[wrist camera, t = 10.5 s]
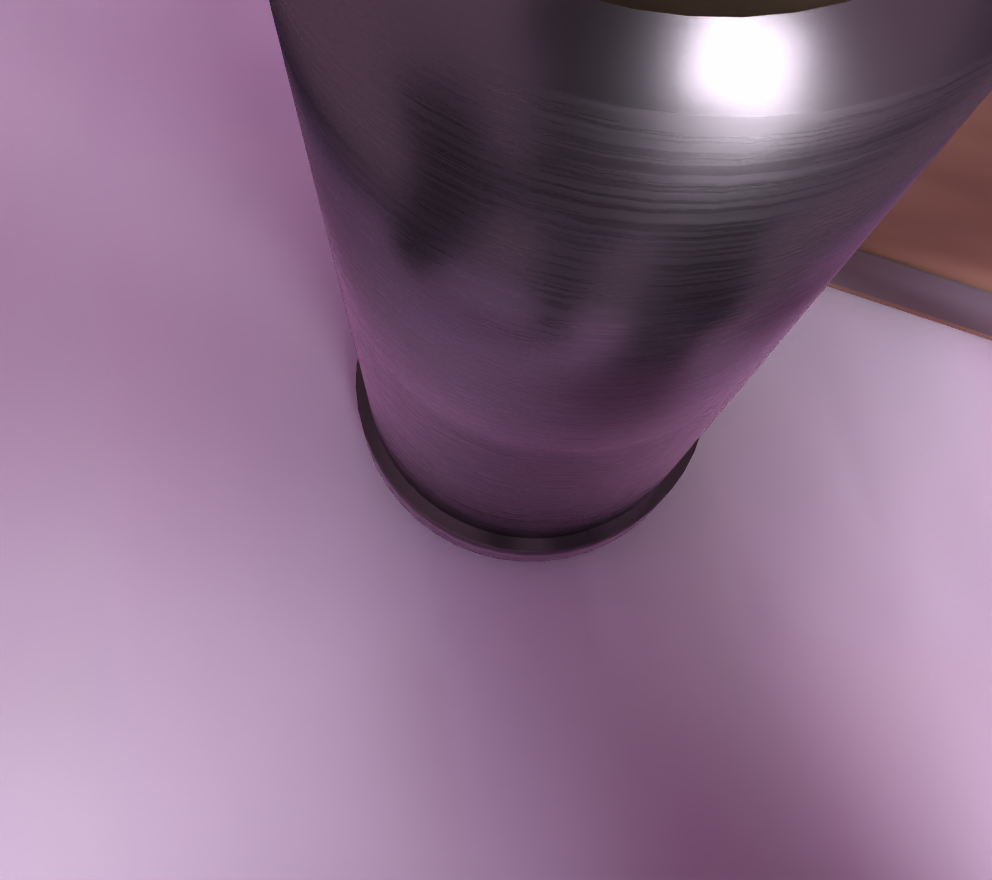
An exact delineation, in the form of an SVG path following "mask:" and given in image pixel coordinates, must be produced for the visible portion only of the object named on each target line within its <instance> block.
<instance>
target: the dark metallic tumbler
mask: <svg viewBox="0 0 992 880" xmlns="http://www.w3.org/2000/svg"><path fill="white" fill-rule="evenodd" d="M269 2H270V6H271V10H272V14H273V18H274V22H275V26H276V30H277V34H278V38H279V42H280V46H281V50H282V54H283V58H284V62H285V66H286V70H287V74H288V78H289V82H290V86H291V90H292V94H293V98H294V102H295V106H296V110H297V114H298V118H299V122H300V126H301V130H302V134H303V138H304V142H305V147H306V151H307V155H308V159H309V163H310V167H311V171H312V175H313V179H314V183H315V187H316V191H317V195H318V199H319V203H320V207H321V211H322V215H323V219H324V223H325V227H326V231H327V235H328V239H329V243H330V247H331V251H332V255H333V259H334V263H335V267H336V271H337V275H338V279H339V283H340V287H341V291H342V295H343V299H344V303H345V307H346V312H347V316H348V320H349V324H350V328H351V332H352V336H353V340H354V344H355V348H356V352H357V356H358V361H357V372H356V392H357V401H358V410H359V414H360V418H361V422H362V426H363V429H364V433H365V437H366V440H367V443H368V447H369V450H370V452H371V455H372V457H373V459H374V462H375V464H376V467H377V469H378V471H379V472H380V474H381V476H382V477H383V479H384V481H385V483H386V484H387V486H388V487H389V489H390V490H391V491H392V493H393V494H394V495H395V497H396V498H397V499H398V500H399V502H400V503H401V504H402V505H403V506H404V507H405V508H406V509H407V510H408V511H409V512H410V513H411V514H412V515H413V516H414V517H415V518H416V519H417V520H418V521H420V522H421V523H422V524H424V525H425V526H426V527H428V528H429V529H430V530H432V531H433V532H434V533H436V534H438V535H439V536H441V537H443V538H445V539H446V540H448V541H450V542H452V543H453V544H456V545H458V546H460V547H463V548H465V549H468V550H470V551H473V552H475V553H479V554H483V555H486V556H490V557H494V558H498V559H506V560H514V561H549V560H556V559H564V558H568V557H572V556H576V555H579V554H583V553H587V552H589V551H592V550H594V549H596V548H599V547H601V546H603V545H606V544H608V543H610V542H611V541H613V540H615V539H617V538H618V537H620V536H622V535H623V534H625V533H627V532H628V531H629V530H630V529H632V528H633V527H634V526H635V525H637V524H638V523H639V522H641V521H642V520H643V519H644V518H645V517H646V516H647V515H648V514H649V513H650V512H651V511H652V510H653V509H654V508H655V507H656V506H657V504H658V503H659V502H660V501H661V500H662V499H663V498H664V497H665V496H666V495H667V493H668V492H669V491H670V490H671V489H672V488H673V486H674V485H675V483H676V482H677V481H678V479H679V478H680V476H681V475H682V474H683V472H684V471H685V469H686V467H687V465H688V463H689V461H690V459H691V457H692V455H693V453H694V451H695V448H696V445H697V442H698V440H699V437H700V436H701V434H702V433H703V432H704V431H705V430H706V429H707V427H708V426H709V425H710V424H711V423H712V421H713V420H714V419H715V418H716V417H717V415H718V414H719V413H720V412H721V411H722V410H723V408H724V407H725V406H726V405H727V404H728V402H729V401H730V400H731V399H732V398H733V396H734V395H735V394H736V393H737V392H738V391H739V389H740V388H741V387H742V386H743V385H744V383H745V382H746V381H747V380H748V379H749V377H750V376H751V375H752V374H753V373H754V372H755V370H756V369H757V368H758V367H759V366H760V364H761V363H762V362H763V361H764V360H765V358H766V357H767V356H768V355H769V354H770V353H771V351H772V350H773V349H774V348H775V347H776V345H777V344H778V343H779V342H780V341H781V339H782V338H783V337H784V336H785V335H786V334H787V332H788V331H789V330H790V329H791V328H792V326H793V325H794V324H795V323H796V322H797V321H798V319H799V318H800V317H801V316H802V315H803V313H804V312H805V311H806V310H807V309H808V307H809V306H810V305H811V304H812V303H813V302H814V300H815V299H816V298H817V297H818V296H819V294H820V293H821V292H822V291H823V290H824V288H825V287H826V286H827V285H828V284H829V283H830V281H831V280H832V279H833V278H834V277H835V275H836V274H837V273H838V272H839V271H840V269H841V268H842V267H843V266H844V265H845V264H846V262H847V261H848V260H849V259H850V258H851V256H852V255H853V254H854V253H855V252H856V250H857V249H858V248H859V247H860V246H861V245H862V243H863V242H864V241H865V240H866V239H867V237H868V236H869V235H870V234H871V233H872V231H873V230H874V229H875V228H876V227H877V226H878V224H879V223H880V222H881V221H882V220H883V218H884V217H885V216H886V215H887V214H888V212H889V211H890V210H891V209H892V208H893V207H894V205H895V204H896V203H897V202H898V201H899V199H900V198H901V197H902V196H903V195H904V193H905V192H906V191H907V190H908V189H909V188H910V186H911V185H912V184H913V183H914V182H915V180H916V179H917V178H918V177H919V176H920V174H921V173H922V172H923V171H924V170H925V169H926V167H927V166H928V165H929V164H930V163H931V161H932V160H933V159H934V158H935V157H936V155H937V154H938V153H939V152H940V151H941V150H942V148H943V147H944V146H945V145H946V144H947V142H948V141H949V140H950V139H951V138H952V136H953V135H954V134H955V133H956V132H957V131H958V129H959V128H960V127H961V126H962V125H963V123H964V122H965V121H966V120H967V119H968V117H969V116H970V115H971V114H972V113H973V112H974V110H975V109H976V108H977V107H978V106H979V104H980V103H981V102H982V101H983V100H984V99H985V97H986V96H987V95H988V94H989V93H990V91H991V90H992V0H269Z"/></svg>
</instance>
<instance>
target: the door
mask: <svg viewBox="0 0 992 880" xmlns="http://www.w3.org/2000/svg"><path fill="white" fill-rule="evenodd" d="M827 286H830V287H833V288H836V289H839V290H842V291H845V292H848V293H851V294H854V295H857V296H860V297H863V298H866V299H869V300H872V301H875V302H878V303H881V304H884V305H887V306H890V307H893V308H896V309H899V310H902V311H905V312H908V313H911V314H914V315H917V316H920V317H924V318H927V319H930V320H933V321H936V322H939V323H942V324H945V325H948V326H951V327H954V328H957V329H960V330H963V331H966V332H969V333H972V334H975V335H978V336H981V337H984V338H987V339H990V340H992V90H991V91H990V93H989V94H988V95H987V96H986V97H985V99H984V100H983V101H982V102H981V103H980V104H979V106H978V107H977V108H976V109H975V110H974V112H973V113H972V114H971V115H970V116H969V117H968V119H967V120H966V121H965V122H964V123H963V125H962V126H961V127H960V128H959V129H958V131H957V132H956V133H955V134H954V135H953V136H952V138H951V139H950V140H949V141H948V142H947V144H946V145H945V146H944V147H943V148H942V150H941V151H940V152H939V153H938V154H937V155H936V157H935V158H934V159H933V160H932V161H931V163H930V164H929V165H928V166H927V167H926V169H925V170H924V171H923V172H922V173H921V174H920V176H919V177H918V178H917V179H916V180H915V182H914V183H913V184H912V185H911V186H910V188H909V189H908V190H907V191H906V192H905V193H904V195H903V196H902V197H901V198H900V199H899V201H898V202H897V203H896V204H895V205H894V207H893V208H892V209H891V210H890V211H889V212H888V214H887V215H886V216H885V217H884V218H883V220H882V221H881V222H880V223H879V224H878V226H877V227H876V228H875V229H874V230H873V231H872V233H871V234H870V235H869V236H868V237H867V239H866V240H865V241H864V242H863V243H862V245H861V246H860V247H859V248H858V249H857V250H856V252H855V253H854V254H853V255H852V256H851V258H850V259H849V260H848V261H847V262H846V264H845V265H844V266H843V267H842V268H841V269H840V271H839V272H838V273H837V274H836V275H835V277H834V278H833V279H832V280H831V281H830V283H829V284H828V285H827Z"/></svg>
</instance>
